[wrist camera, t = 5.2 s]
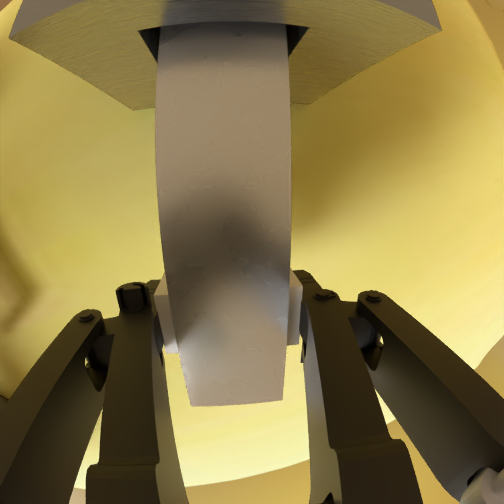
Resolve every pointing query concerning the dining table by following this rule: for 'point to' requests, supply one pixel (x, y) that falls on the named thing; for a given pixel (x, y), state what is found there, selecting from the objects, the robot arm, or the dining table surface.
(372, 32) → the block
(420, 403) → the robot arm
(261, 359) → the shaft
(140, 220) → the dining table surface
